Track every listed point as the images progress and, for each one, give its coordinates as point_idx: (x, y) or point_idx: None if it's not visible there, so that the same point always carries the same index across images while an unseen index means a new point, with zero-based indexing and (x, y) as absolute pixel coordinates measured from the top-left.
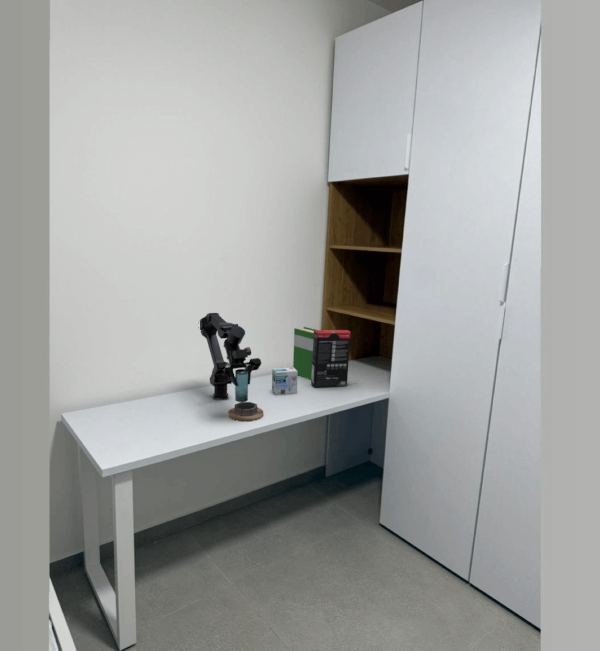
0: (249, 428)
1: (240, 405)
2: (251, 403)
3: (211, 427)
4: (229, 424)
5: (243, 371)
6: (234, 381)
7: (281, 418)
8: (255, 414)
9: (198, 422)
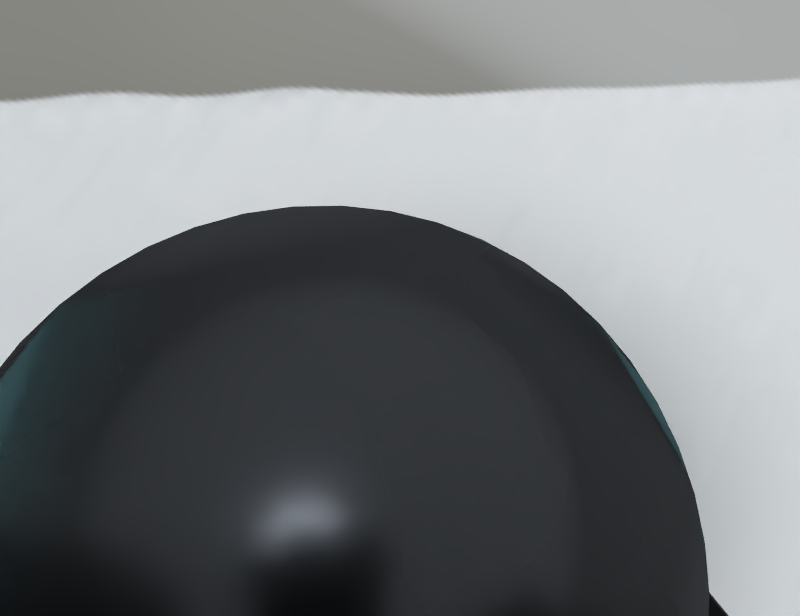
0: (436, 108)
1: None
2: None
3: (702, 298)
4: (543, 275)
5: (300, 429)
6: None
7: (56, 143)
8: None
9: (758, 460)
